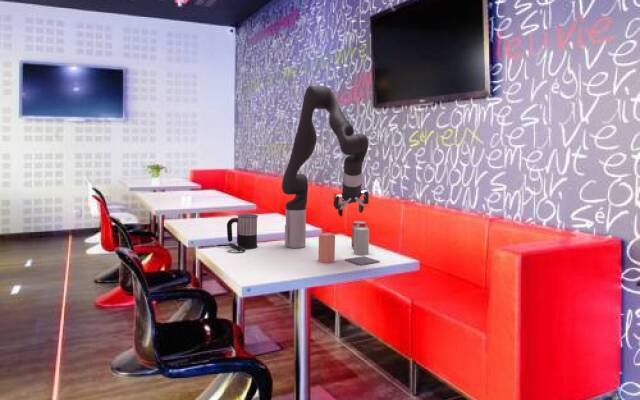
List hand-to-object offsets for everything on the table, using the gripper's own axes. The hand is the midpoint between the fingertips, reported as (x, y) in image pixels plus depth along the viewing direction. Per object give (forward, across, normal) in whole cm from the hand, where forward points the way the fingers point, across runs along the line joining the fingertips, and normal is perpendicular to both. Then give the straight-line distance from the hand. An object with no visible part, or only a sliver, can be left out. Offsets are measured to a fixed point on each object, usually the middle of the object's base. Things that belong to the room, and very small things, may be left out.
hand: (350, 213), depth 206 cm
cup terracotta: (+13, +14, +11) cm, 22 cm away
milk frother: (+23, +44, -16) cm, 52 cm away
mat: (+13, 0, +15) cm, 20 cm away
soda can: (+26, -7, -6) cm, 28 cm away
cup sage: (+21, -5, +3) cm, 21 cm away
